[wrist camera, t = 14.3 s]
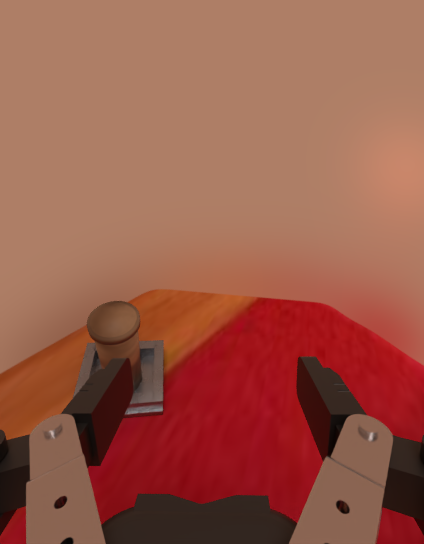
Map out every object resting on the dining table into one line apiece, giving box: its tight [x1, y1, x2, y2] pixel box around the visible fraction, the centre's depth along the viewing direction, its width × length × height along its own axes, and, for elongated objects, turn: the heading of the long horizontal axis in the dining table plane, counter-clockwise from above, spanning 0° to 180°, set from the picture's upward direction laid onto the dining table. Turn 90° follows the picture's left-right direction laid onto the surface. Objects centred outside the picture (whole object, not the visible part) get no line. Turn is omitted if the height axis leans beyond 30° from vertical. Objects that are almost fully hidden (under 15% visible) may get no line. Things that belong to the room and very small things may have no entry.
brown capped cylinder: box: [87, 301, 142, 392], centre depth 30 cm, size 5×5×12 cm
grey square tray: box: [73, 340, 163, 418], centre depth 34 cm, size 10×9×3 cm
